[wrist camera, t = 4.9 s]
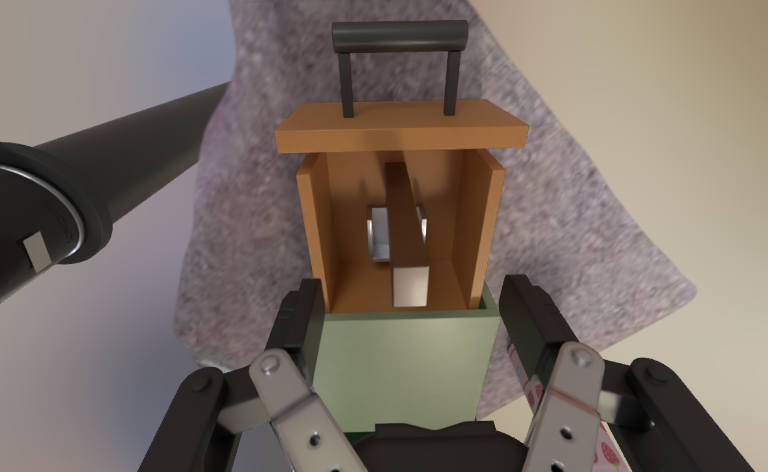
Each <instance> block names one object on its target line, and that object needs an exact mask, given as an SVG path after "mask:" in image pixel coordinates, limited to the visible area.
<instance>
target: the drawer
mask: <svg viewBox="0 0 768 472" xmlns="http://www.w3.org/2000/svg"><path fill="white" fill-rule="evenodd" d="M467 40H468V22H467V20H435V21H380V22H333V23H332V41H333V48H334V52H335V53H339V54H338V58H339V71H340V83H341V95H342V102H333V103H302V104H301V105H300V106H299V107H298V108H297V109H296V110H295V111H294V112H293V113H292V114H291V115H290V116H289V117H288V118H287V119H286V120H285V121H284V122H283V123H282V124H281V125H280V126H279V127H278V128H277V129H276V130H275V131H274V135H275V140H276V145H277V150H278V153H307V152H308V154H307V156H306V158H305V160H304V161H303V163H302V165H301V167H300V169H299V170H298V172H297V174H296V179H297V184H298V190H299V196H300V202H301V207H302V213H303V219H304V225H305V231H306V236H307V242H308V248H309V254H310V259H311V265H312V271H313V277H314V278H320V279H321V282H322V288H323V294H324V300H325V314H331V313H368V312H404V311H440V310H476V309H478V308H479V303H480V298H481V293H482V288H483V283H484V278H485V273H486V268H487V263H488V258H489V253H490V248H491V243H492V238H493V233H494V228H495V223H496V218H497V212H498V207H499V202H500V197H501V192H502V187H503V182H504V177H505V172H506V170H505V169H504V168H503V166H502V165H501V164H500V163H499V162H498V161H497V160H496V159H495V158H494V157H493V156H492V155H491V154H490V153H489V152H488V151H487V150H486V148H524V147H525V144H526V139H527V135H528V130H529V125H528V124H526V123H524V122H523V121H521V120H519V119H518V118H516V117H514V116H513V115H511V114H509V113H508V112H506V111H504V110H503V109H501V108H499V107H498V106H496V105H495V104H493V103H491V102H490V101H488V100H486V99H478V100H456V97H457V87H458V77H459V66H460V56H461V51H463V50H465V47H466V44H467ZM435 51H448V59H447V71H446V84H445V96H444V100H430V101H382V102H353V93H352V77H351V62H350V53H383V52H435ZM391 162H406V166H407V171H408V175H409V179H410V183H411V188H412V192H413V196H414V201H415V204H423V206H424V210H425V214H426V217H427V227H426V242H425V248H426V253H427V257H428V261H429V265H430V269H429V282H428V295H427V305H426V306H421V307H393V306H392V291H391V274H390V262H369V255H368V236H367V205H386V194H385V163H391Z"/></svg>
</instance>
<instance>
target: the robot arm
mask: <svg viewBox="0 0 768 472" xmlns="http://www.w3.org/2000/svg"><path fill="white" fill-rule="evenodd" d="M86 238H87V225H86V221H85V219H84V216H83V214H82V213H81V211H80V209H79V208H78V206H77V205H76V204H75V202H74V201H73V200H72V199H71V198H70V197H69V196H68V195H67V194H66V193H65V192H64V191H63V190H62V189H60V188H59V187H58V186H57V185H55V184H54V183H52V182H51V181H49V180H48V179H46V178H45V177H43V176H41V175H39V174H37V173H35V172H33V171H31V170H28V169H26V168H23V167H20V166H16V165H12V164H7V163H0V304H1V303H2V302H3V301H5V300H6V299H8V298H9V297H11V296H12V295H13V294H15V293H16V292H17V291H19V290H20V289H22V288H23V287H24V286H26V285H27V284H29V283H30V282H31V281H33V280H34V279H35V278H37V277H38V276H40V275H41V274H43V273H44V272H45V271H47V270H48V269H50V268H51V267H52V266H54V265H55V264H57V263H58V262H59V261H61V260H62V259H63V258H65V257H67V256H69V255H71V254H72V253H74V252H75V251H76V250H78V249H79V248H80V247H81V246H82V245H83V244H84V243H85V240H86ZM499 311H500V315H501V317H502V319H503V322H504V324H505V326H506V329H507V331H508V333H509V336H510V338H511V340H512V342H513V345H514V347H515V349H516V352H517V354H518V356H519V359H520V361H521V363H522V365H523V368H524V370H525V372H526V375H527V377H528V379H529V382H541V384H542V386H543V390H542V392H541V395H540V398H539V401H538V404H537V407H536V410H535V413H534V416H533V419H532V422H531V425H530V428H529V431H528V433H527V436H526V438H525V441H524V444H523V443H521V442H520V441H518V440H517V439H515V438H514V437H511V436H510V435H507V434H505V433H502V432H499V431H496V428H495V425H494V421H464V422H461V423H458V424H454V425H451V426H448V427H445V428H442V429H439V430H431V429H427V428H423V427H419V426H415V425H411V424H407V423H377V424H375V433H372V434H369V435H367V436H365V437H363V438H361V439H360V440H358V441H357V442H355V443H354V444H353V445H352V446H351V444H350V443H349V441H348V439H347V438H346V436H345V435H344V433H343V432H342V430H341V429H340V427H339V425H338V424H337V422H336V421H335V419H334V418H333V416H332V415H331V413H330V412H329V410H328V408H327V407H326V405H325V404H324V402H323V401H322V399H321V398H320V396H319V395H318V394H317V393H316V392H315V393H313V392H312V390H311V389H310V387H309V386H312V384H313V379H314V373H315V368H316V363H317V357H318V352H319V346H320V341H321V336H322V330H323V325H324V320H325V300H324V294H323V288H322V282H321V279H320V278H311V279H303V280H302V282H301V285H300V289H299V291H290V292H289V293H288V294H287V295H286V296H285V297H284V299H283V300H282V303H281V305H280V308H279V311H278V314H277V317H276V319H275V322H274V325H273V328H272V331H271V333H270V336H269V339H268V342H267V345H266V347H265V350H264V351H263V352H262V353H260V354H259V355H257V356H256V357H255V358H254V360H253V361H252V363H251V364H250V365H248V366H246V367H243V368H241V369H237V370H234V371H231V372H227V373H224V374H223V373H222V371H221V370H220V369H218V368H216V367H205V368H201V369H199V370H197V371H195V372H193V373H192V374H190V375H189V376H188V377H187V378H186V379H185V380H184V381H183V382H182V383H181V385H180V387H179V389H178V391H177V393H176V395H175V397H174V399H173V401H172V403H171V405H170V407H169V409H168V411H167V413H166V415H165V417H164V419H163V421H162V423H161V425H160V427H159V429H158V431H157V433H156V435H155V437H154V439H153V441H152V443H151V445H150V447H149V449H148V451H147V453H146V455H145V457H144V459H143V461H142V463H141V465H140V467H139V469H138V471H137V472H231V470H232V467H233V463H234V460H235V456H236V453H237V449H238V445H239V442H240V438H241V435H242V432H243V431H246V430H249V429H252V428H254V427H257V426H260V425H263V424H265V423H268V422H269V424H270V426H271V428H272V431H273V433H274V435H275V437H276V439H277V441H278V443H279V445H280V448H281V450H282V452H283V454H284V456H285V458H286V460H287V463H288V465H289V467H290V469H291V472H592V470H593V464H594V458H595V452H596V446H597V440H598V434H599V427H600V421H604V422H607V424H608V426H609V428H610V430H611V432H612V434H613V435H614V438H615V439H616V441H617V443H618V445H619V447H620V449H621V451H622V453H623V455H624V457H625V458H626V460H627V462H628V464H629V466H630V468H631V470H632V472H755V471H754V470H753V469H752V467H751V466H750V465H749V464H748V463H747V461H746V460H745V459H744V457H743V456H742V455H741V454H740V452H739V451H738V450H737V449H736V447H735V446H734V445H733V444H732V442H731V441H730V440H729V439H728V437H727V436H726V435H725V434H724V433H723V432H722V430H721V429H720V428H719V426H718V425H717V424H716V423H715V421H714V420H713V419H712V418H711V416H710V415H709V414H708V413H707V412H706V410H705V409H704V408H703V406H702V405H701V404H700V403H699V401H698V400H697V399H696V398H695V397H694V395H693V394H692V393H691V391H690V390H689V389H688V388H687V387H686V385H685V384H684V383H683V382H682V380H681V379H680V378H679V377H678V375H677V374H676V373H675V372H674V371H673V370H671V369H670V368H669V367H667V366H666V365H664V364H662V363H660V362H658V361H655V360H653V359H649V358H637V359H635V360H633V362H632V363H631V365H630V366H629V365H625V364H621V363H616V362H612V361H608V360H605V359H603V358H602V357H601V356H600V354H599V353H598V352H597V351H596V350H594V349H593V348H591V347H590V346H588V345H586V344H583V343H580V342H579V340H578V339H577V337H576V336H575V334H574V333H573V331H572V330H571V328H570V327H569V325H568V323H567V322H566V320H565V319H564V317H563V316H562V314H560V311H559V310H558V308H557V307H556V306H555V303H554V302H553V300H552V299H551V297H550V296H549V294H548V293H546V292H545V291H544V290H543V289H541V288H540V287H539V286H532V284H531V282H530V281H529V279H528V277H527V276H526V275H525V274H516V275H506V276H505V278H504V282H503V286H502V291H501V295H500V299H499Z"/></svg>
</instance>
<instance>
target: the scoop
mask: <svg viewBox="0 0 768 472" xmlns="http://www.w3.org/2000/svg"><path fill="white" fill-rule="evenodd" d="M385 194H386V205H367V236H368V255H369V262H390V274H391V291H392V306H393V307H421V306H426V305H427V295H428V282H429V269H430V265H429V261H428V257H427V253H426V248H425V242H426V227H427V217H426V214H425V210H424V206H423V204H415V201H414V196H413V192H412V188H411V183H410V179H409V175H408V171H407V166H406V162H391V163H385Z"/></svg>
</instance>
